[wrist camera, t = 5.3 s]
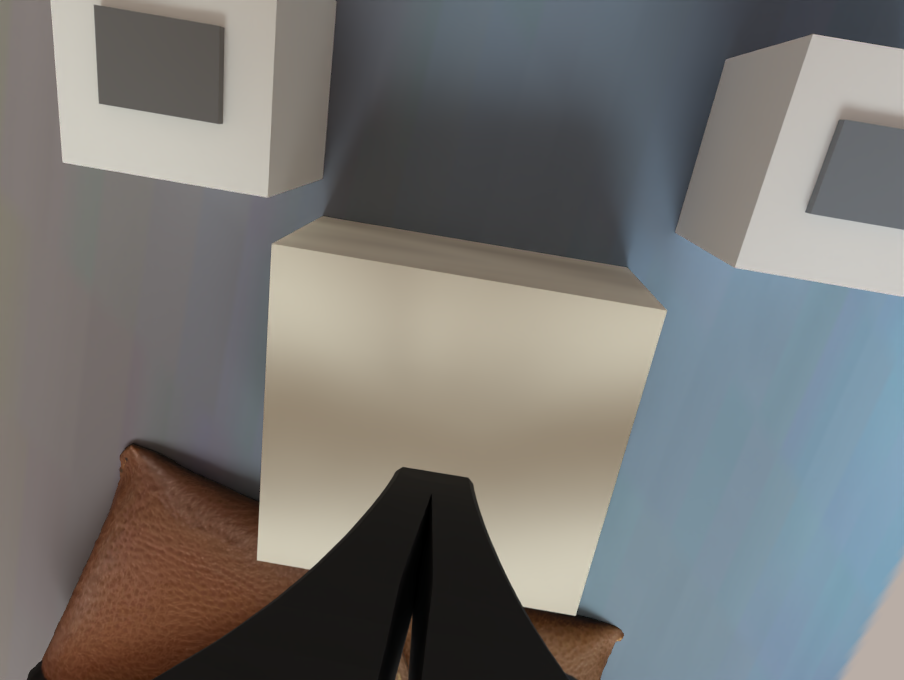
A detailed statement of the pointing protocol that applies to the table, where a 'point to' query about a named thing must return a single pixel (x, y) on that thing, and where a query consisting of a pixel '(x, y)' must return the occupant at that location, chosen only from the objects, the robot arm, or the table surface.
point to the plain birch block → (450, 391)
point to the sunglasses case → (208, 583)
